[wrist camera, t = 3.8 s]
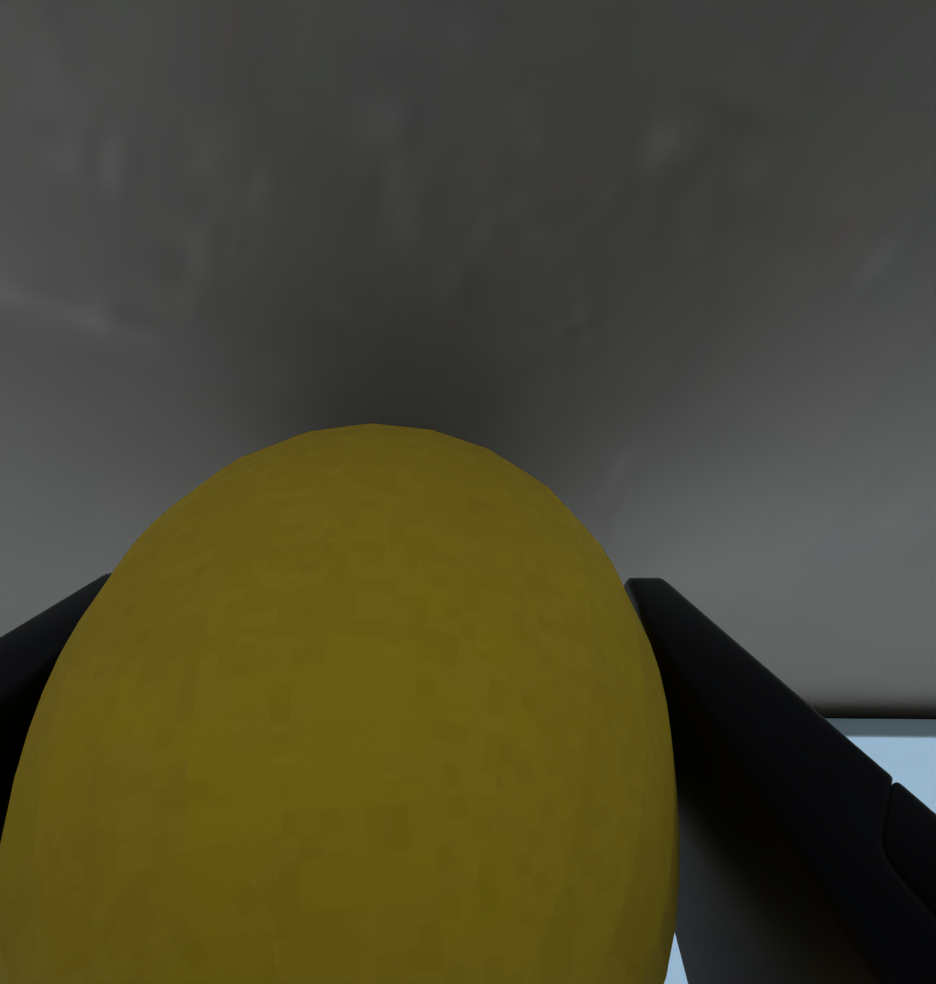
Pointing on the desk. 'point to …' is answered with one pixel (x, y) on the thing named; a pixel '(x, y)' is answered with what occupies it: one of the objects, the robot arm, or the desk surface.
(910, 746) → the cloth
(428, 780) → the lemon
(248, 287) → the desk surface
